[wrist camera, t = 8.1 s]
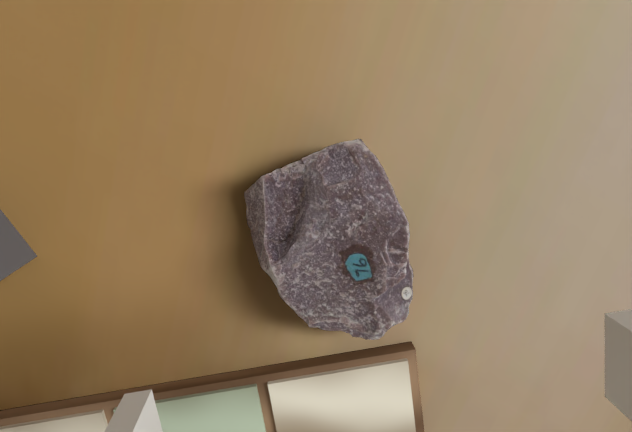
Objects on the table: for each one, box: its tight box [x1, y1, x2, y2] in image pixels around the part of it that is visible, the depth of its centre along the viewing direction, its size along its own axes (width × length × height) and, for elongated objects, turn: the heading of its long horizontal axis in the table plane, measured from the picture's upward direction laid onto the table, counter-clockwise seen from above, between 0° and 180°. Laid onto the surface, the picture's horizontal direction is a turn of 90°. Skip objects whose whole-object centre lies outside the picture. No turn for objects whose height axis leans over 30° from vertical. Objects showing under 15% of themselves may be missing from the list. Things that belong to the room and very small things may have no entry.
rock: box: [244, 139, 413, 340], centre depth 27 cm, size 8×11×4 cm
